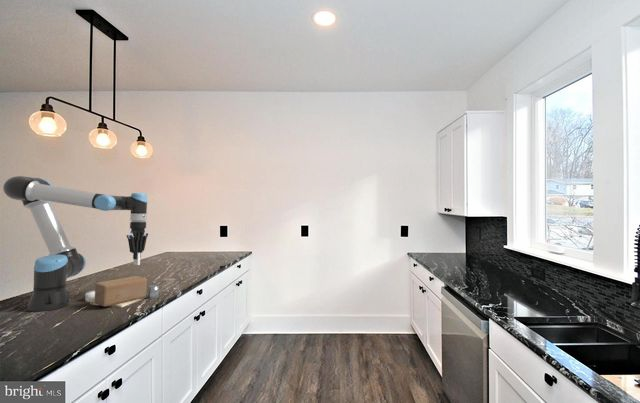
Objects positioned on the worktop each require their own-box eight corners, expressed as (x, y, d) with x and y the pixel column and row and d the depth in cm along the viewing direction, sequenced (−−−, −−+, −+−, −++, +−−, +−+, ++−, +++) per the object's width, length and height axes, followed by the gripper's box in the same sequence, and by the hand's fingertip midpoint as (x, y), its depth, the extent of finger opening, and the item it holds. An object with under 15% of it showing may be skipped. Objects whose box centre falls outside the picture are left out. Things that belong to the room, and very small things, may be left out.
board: (89, 304, 147) (90, 302, 147) (117, 295, 163) (117, 293, 163) (121, 307, 143) (121, 305, 144) (146, 297, 159) (147, 295, 159)
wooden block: (147, 297, 157) (103, 307, 140) (136, 293, 162) (93, 303, 145) (147, 277, 157) (104, 285, 140) (137, 275, 162) (94, 282, 145)
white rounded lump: (82, 301, 151) (82, 293, 151) (93, 297, 157) (93, 290, 157) (92, 302, 150) (92, 294, 150) (102, 298, 156) (103, 291, 156)
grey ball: (145, 298, 158) (146, 287, 158) (152, 295, 163) (152, 284, 163) (154, 299, 157) (154, 287, 157) (160, 296, 162) (161, 285, 162)
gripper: (135, 222, 157) (133, 267, 157) (153, 221, 170) (151, 263, 169) (122, 221, 158) (120, 266, 158) (141, 220, 171) (139, 262, 171)
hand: (136, 264), depth 164 cm, fingers closed
